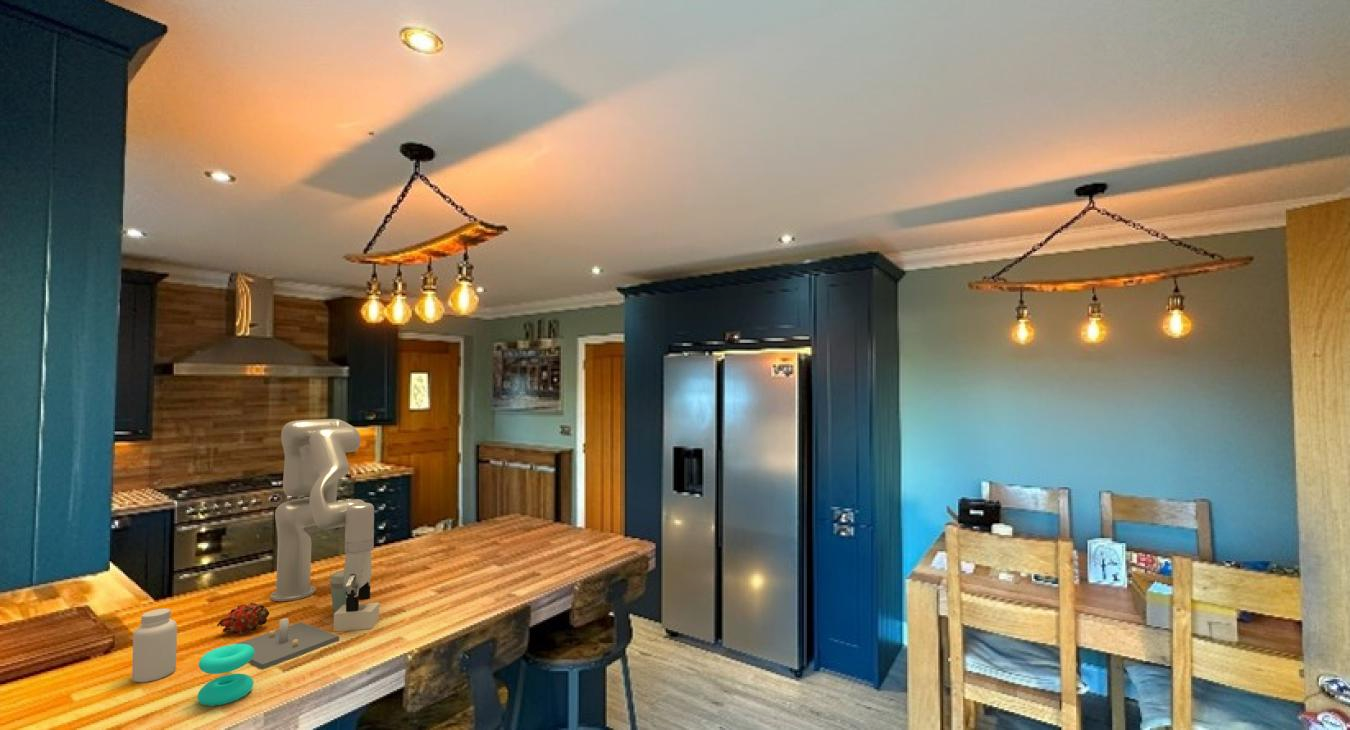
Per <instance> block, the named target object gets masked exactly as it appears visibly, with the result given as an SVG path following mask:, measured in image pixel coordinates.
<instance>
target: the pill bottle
mask: <svg viewBox="0 0 1350 730" xmlns="http://www.w3.org/2000/svg"><path fill="white" fill-rule="evenodd" d="M171 611H172V610H171V609H170V608H157V609H151V610H149V611H146V612H144V613H142V614H141V618H140V620H141V621H140V625H139V626H138V627H137V628H136V629H135V630H134V632H133V634H132V663H131V665H132V666H131V669H132V670H131V671H132V673H131V678H132V681H133V682H135V683H147V682H152V681H156V680H159V679H162V678H165V677H167V676H169V675H171V674H172V673H174V672H175V670H176V668H177V647H178V646H177V645H178V643H177V642H178V641H177V639H178V637H177V636H178V624H177V622H176V621H175V620H173V619H171V615H172V614H171V613H172V612H171Z"/></svg>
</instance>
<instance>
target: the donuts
mask: <svg viewBox="0 0 1350 730" xmlns="http://www.w3.org/2000/svg"><path fill="white" fill-rule="evenodd" d="M253 656H254V649H253V647H252V646H250V645H247V644H236V643H233V644H229V645H223V646H221V647H217V648H215V649H212V650H209V651H208V652H206V653H205V654H204V655H203V656H201V657H200V660H198V668H199V670H200V671H202V672H203V673H205V674H209V675H218V674H219V675H220V674H225V673H230V672H234V671H236V670H238V669H241V668H243V667H244V666H246V665H247V664H249V663H248V662H249V661H250V660H251V659H252V658H253ZM253 687H254V679H253V678H252V677H251V676H250V675H248V674H245V673H230V674H226V675H222V676H218V677H216V678H213V679H212V680H211V681H208V682H207V683H206V684H204V685H203V686H202V687H201V688H200V690H199V691H198V693H197V701H198V702H199V704H201V705H204V706H208V707H209V706H211V707H212V706H213V707H215V706H220V705H226V704H229V703H233V702H235V701H237V700H240V699H242V698H243V697H245V696H246V695H247V694H248V693H250V692H251V691H252V689H253Z"/></svg>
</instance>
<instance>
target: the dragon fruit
mask: <svg viewBox="0 0 1350 730" xmlns="http://www.w3.org/2000/svg"><path fill="white" fill-rule="evenodd" d="M269 615H270V611H269V610H268V609H267V608H266V607H265V606H264V605H262V604H257V603H255V602H249V604H247V605H246V604H239V605H237V606H236V608H233V609H231V610H230V612H229V613H228V614H227V615H225V616H224V618H221V619H220V620H219V622H218V623H217V625H216V627H217V628H218V627H219V626H220V627H224V628H223V629H222V632H223V633H226V634H230V633H231V634H233V633H234V634H240V635H241V636H243V635H245V634H247V632H248V631H249V632H250V633H252V632H255V631H256V630H257V629H258V628H257V627H260V626H263V625H265V624H266V623H267V622H268V617H269Z"/></svg>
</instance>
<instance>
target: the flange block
mask: <svg viewBox="0 0 1350 730" xmlns="http://www.w3.org/2000/svg"><path fill="white" fill-rule="evenodd" d="M379 620H380V602H366V603H359V610H358V611H354V612H346V605H343V606H342V607H340V608H339V609H338V610H337V611H336V612H335V613H334V614H333V632H348V631H358V630H359V631H361V630H362V631H363V630H372V629H373V627H374V626H375V625H376V624H377V622H378V621H379Z"/></svg>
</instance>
